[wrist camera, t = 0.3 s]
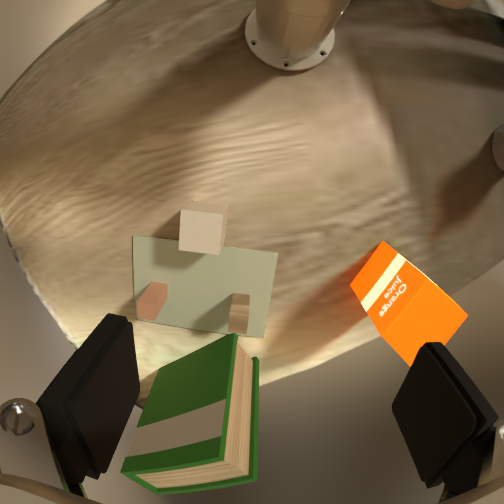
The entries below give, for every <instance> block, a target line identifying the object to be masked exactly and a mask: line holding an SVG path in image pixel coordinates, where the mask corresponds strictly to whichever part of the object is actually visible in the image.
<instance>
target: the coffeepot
mask: <svg viewBox="0 0 504 504" xmlns="http://www.w3.org/2000/svg"><path fill="white" fill-rule="evenodd" d="M492 152H493V157H494V160H495V162H496V164H497V166H498V168H500V169H501V170H502V171H504V125H503V126H501V127H499V128H498V129H497V130H496V131H494V135H493V139H492Z"/></svg>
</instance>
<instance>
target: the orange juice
mask: <svg viewBox="0 0 504 504" xmlns="http://www.w3.org/2000/svg"><path fill="white" fill-rule="evenodd" d="M350 286H351V287H352V289H353V291H354V292H355V294H356V295H357V297H358V299H359V300H360V302H361V304H362V306H363V308H364V309H365V311H366V312H367V313H368V315H369V317H370V318H371V320H372V322H373V323H374V325H375V327H376V328H377V330H378V332H379V333H380V335H381V337H383V338H384V339H385V340H386V341H387V342H388V343H389V344H390V345H391V346H392V348H393V349H395V351H396V352H397V353H398V354H399V355H400V356H401V357H402V358H403V359H404V360H405V361H406V363H407V364H408V365H409V366H410V367H411V365H412V363H413V361H414V359H415V356H416V354H417V352H418V350H419V348H420V347H422V346H423V344H424V343H426V342H441V343H442V344H443V345H444V344H445V343H446V342H447V341H448V340H449V339H450V337H451V336H452V335H453V334H454V332H455V331H456V330H457V329H458V327H459V326H460V325H461V324H462V322H463V321H464V320H465V319H466V317H467V316H468V315H467V314H466V313H465V312H464V311H463V310H462V309H461V308H460V307H459V305H457V303H456V302H454V301H453V300H452V299H451V298H450V297H449V296H448V295H447V294H446V293H445V292H443V291H442V290H441V289H440V288H439V287H438V286H437V285H436V284H435V283H434V282H433V281H431V280H430V279H429V278H428V277H427V276H426V275H425V274H423V273H422V272H421V271H420V270H418V269H417V268H416V267H415V266H414V265H412V264H411V263H410V262H409V261H407V260H406V259H405V258H404V257H402V256H401V255H400V254H399V253H397V252H396V251H395V250H394V249H392V248H391V247H390V246H388V245H387V244H386V243H385V242H383V241H382V242H381V243H380V245H379V246H378V248H377V249H376V250H375V252H374V253H373V255H372V256H371V257H370V259H369V260H368V261H367V263H366V264H365V265H364V267H363V268H362V270H361V271H360V272H359V274H358V275H357V276H356V277H355V279H354V280H353V281H352V283H351V284H350Z"/></svg>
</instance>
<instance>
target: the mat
mask: <svg viewBox="0 0 504 504" xmlns="http://www.w3.org/2000/svg"><path fill="white" fill-rule="evenodd" d="M277 256H278V252H270V251H262V250H254V249H246V248H238V247H230V246H222V249H221V251H220V254H219V255H214V254H206V253H198V252H190V251H182V250H179V240H173V239H165V238H157V237H149V236H140V235H133V268H134V294H135V311H136V319H138V320H143V321H148V322H154V323H159V324H165V325H171V326H177V327H183V328H189V329H196V330H202V331H209V332H217V333H224V334H231V333H230V332H228V323H229V315H230V309H231V303H232V297H233V293H239V294H247V295H250V304H249V320H248V327H247V334H238V333H236V334H237V335H240V336H249V337H258V338H264V332H265V327H266V321H267V316H268V310H269V304H270V298H271V292H272V287H273V281H274V275H275V269H276V263H277ZM152 281H153V282H160V283H166V284H168V287H167V300H166V302H165V303H164V305H163V307H162V309H161V310H160V312H159V314H158V316H157V318H156V319H155V321H152V320H147V319H141V318H138V315H137V301H138V300H139V298H140V297H141V295H142V294H143V293H144V291H145V290H146V289H147V287H148V286H149V285H150V283H151V282H152Z"/></svg>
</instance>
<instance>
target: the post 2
mask: <svg viewBox="0 0 504 504" xmlns="http://www.w3.org/2000/svg"><path fill="white" fill-rule="evenodd" d="M249 304H250V295H247V294H239V293H233V297H232V303H231V309H230V315H229V323H228V332H230V333H238V334H247V327H248V320H249Z"/></svg>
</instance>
